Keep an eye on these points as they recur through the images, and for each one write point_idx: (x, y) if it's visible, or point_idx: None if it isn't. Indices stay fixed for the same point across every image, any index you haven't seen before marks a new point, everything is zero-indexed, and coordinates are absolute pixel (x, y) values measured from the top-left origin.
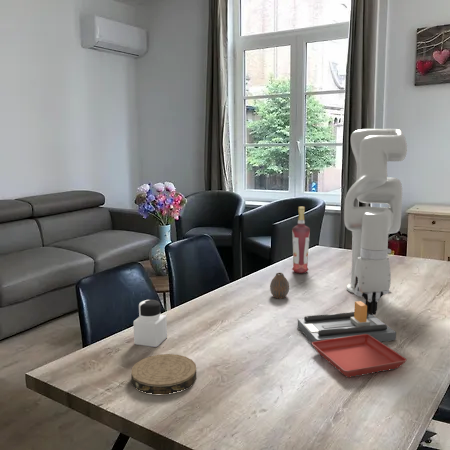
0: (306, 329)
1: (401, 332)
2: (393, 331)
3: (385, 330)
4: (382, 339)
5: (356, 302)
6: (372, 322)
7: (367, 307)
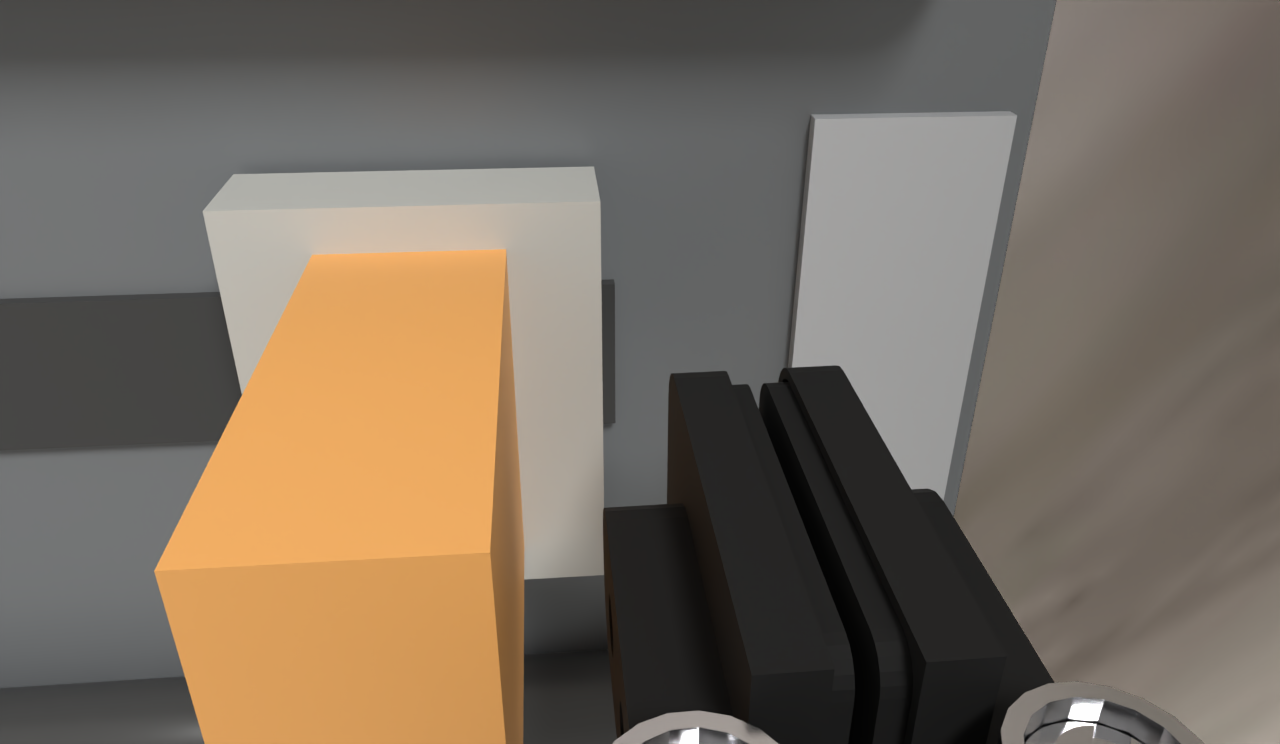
0: None
1: (1160, 417)
2: None
3: None
4: None
5: (208, 667)
6: (764, 326)
7: (615, 702)
